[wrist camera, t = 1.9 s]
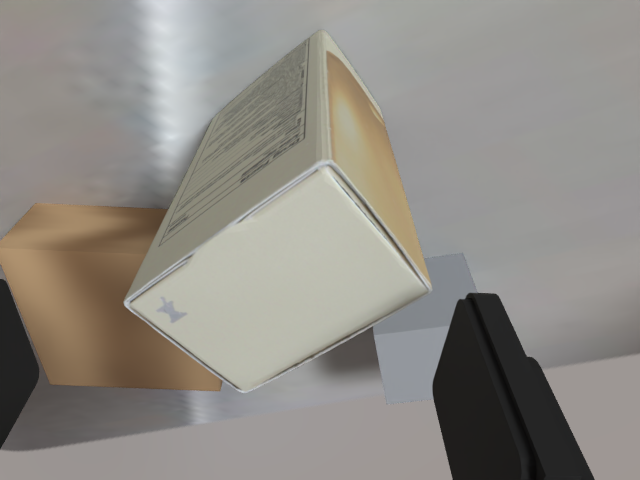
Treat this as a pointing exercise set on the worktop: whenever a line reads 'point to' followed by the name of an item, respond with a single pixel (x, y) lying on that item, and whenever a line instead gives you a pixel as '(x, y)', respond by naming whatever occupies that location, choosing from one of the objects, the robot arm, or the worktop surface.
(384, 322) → the grey block
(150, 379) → the oak block
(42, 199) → the worktop surface
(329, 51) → the skincare box
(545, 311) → the worktop surface
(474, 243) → the worktop surface
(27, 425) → the worktop surface
